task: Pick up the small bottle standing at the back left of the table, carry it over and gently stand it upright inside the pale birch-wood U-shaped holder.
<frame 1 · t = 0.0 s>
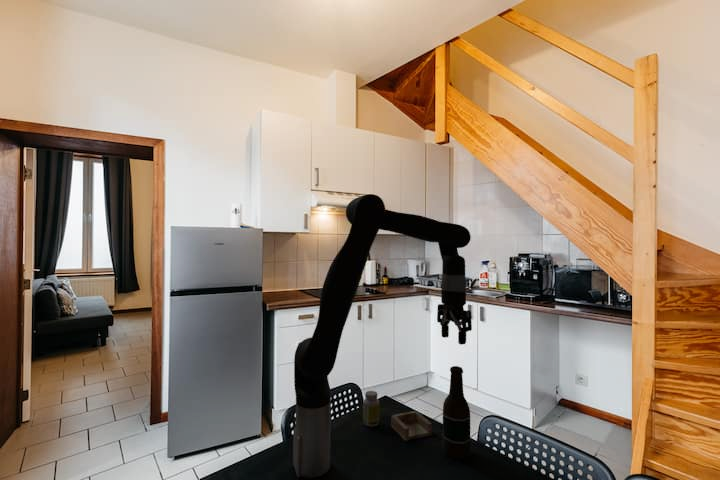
hand: (453, 340, 110), 29 cm above the table, tool pointing down, fingers open, 8 cm apart
beer bottle: (456, 452, 100), on the table
supplement bottle: (371, 423, 116), on the table
u holder: (411, 430, 111), on the table
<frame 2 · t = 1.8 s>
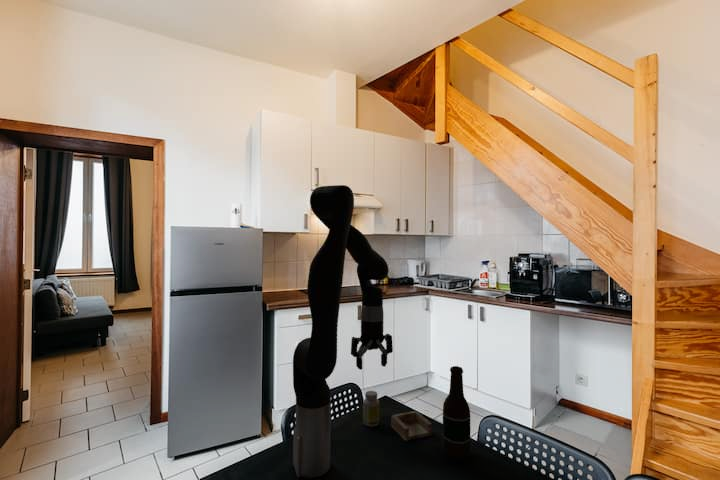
hand: (371, 367, 116), 18 cm above the table, tool pointing down, fingers open, 8 cm apart
nothing on the table moved.
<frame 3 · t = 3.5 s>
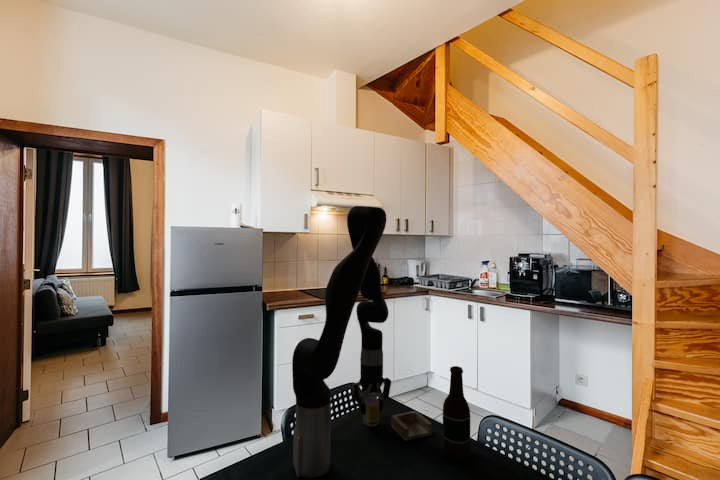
hand: (371, 412, 116), 4 cm above the table, tool pointing down, fingers closed on supplement bottle, 5 cm apart
supplement bottle: (371, 423, 116), on the table, touching gripper
everything else where it was.
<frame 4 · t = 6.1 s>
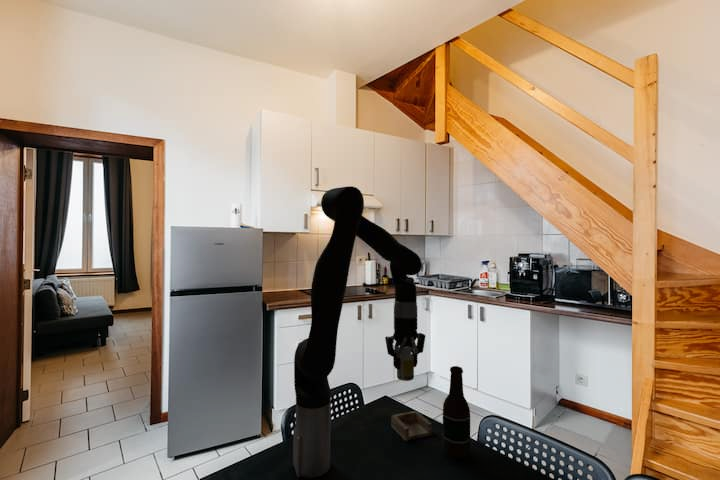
hand: (405, 367, 113), 20 cm above the table, tool pointing down, fingers closed on supplement bottle, 5 cm apart
supplement bottle: (405, 378, 113), point 16 cm above the table, touching gripper
everything else where it was.
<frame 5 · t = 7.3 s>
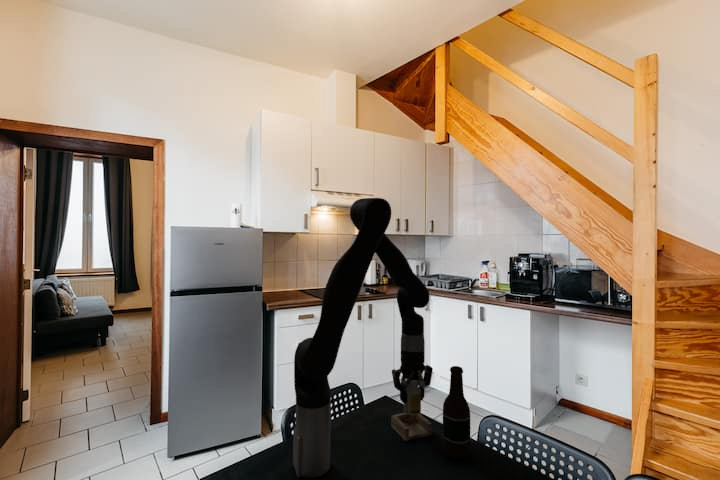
hand: (412, 400, 111), 10 cm above the table, tool pointing down, fingers closed on supplement bottle, 5 cm apart
supplement bottle: (412, 412, 111), point 6 cm above the table, touching gripper
everything else where it was.
when the fingers open (6 cm above the table, at t = 8.6 s): supplement bottle drops 1 cm, resting on u holder.
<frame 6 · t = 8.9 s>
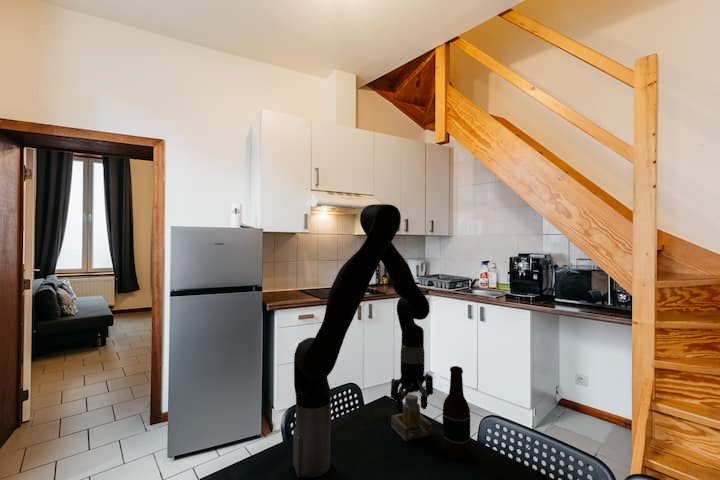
hand: (412, 410, 111), 7 cm above the table, tool pointing down, fingers open, 8 cm apart
supplement bottle: (411, 428, 111), point 1 cm above the table, touching u holder
everything else where it was.
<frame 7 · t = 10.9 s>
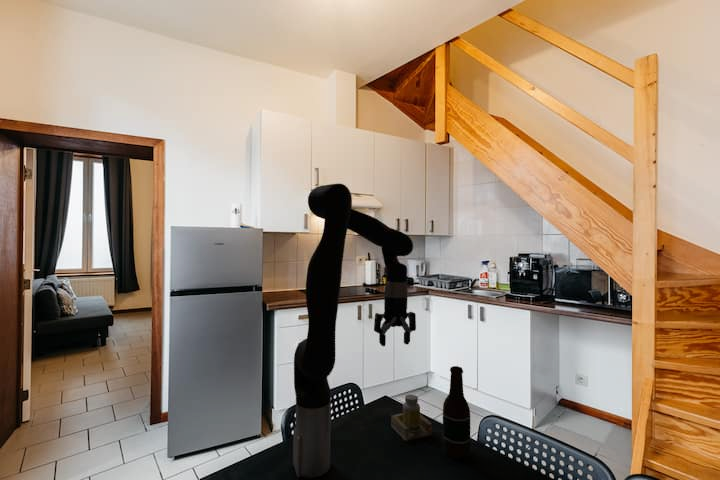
hand: (394, 344, 115), 26 cm above the table, tool pointing down, fingers open, 8 cm apart
nothing on the table moved.
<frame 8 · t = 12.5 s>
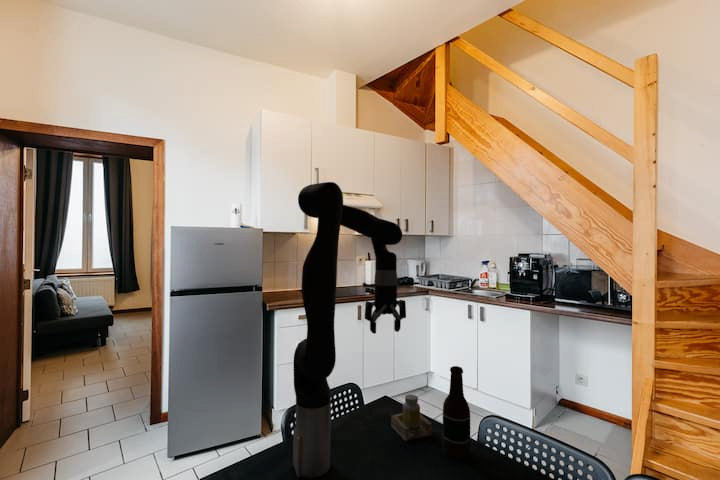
hand: (385, 332, 116), 30 cm above the table, tool pointing down, fingers open, 8 cm apart
nothing on the table moved.
at the end: supplement bottle 0.2 cm off-centre on the u holder, point 0.8 cm above the u holder's base; supplement bottle tilted 0° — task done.
